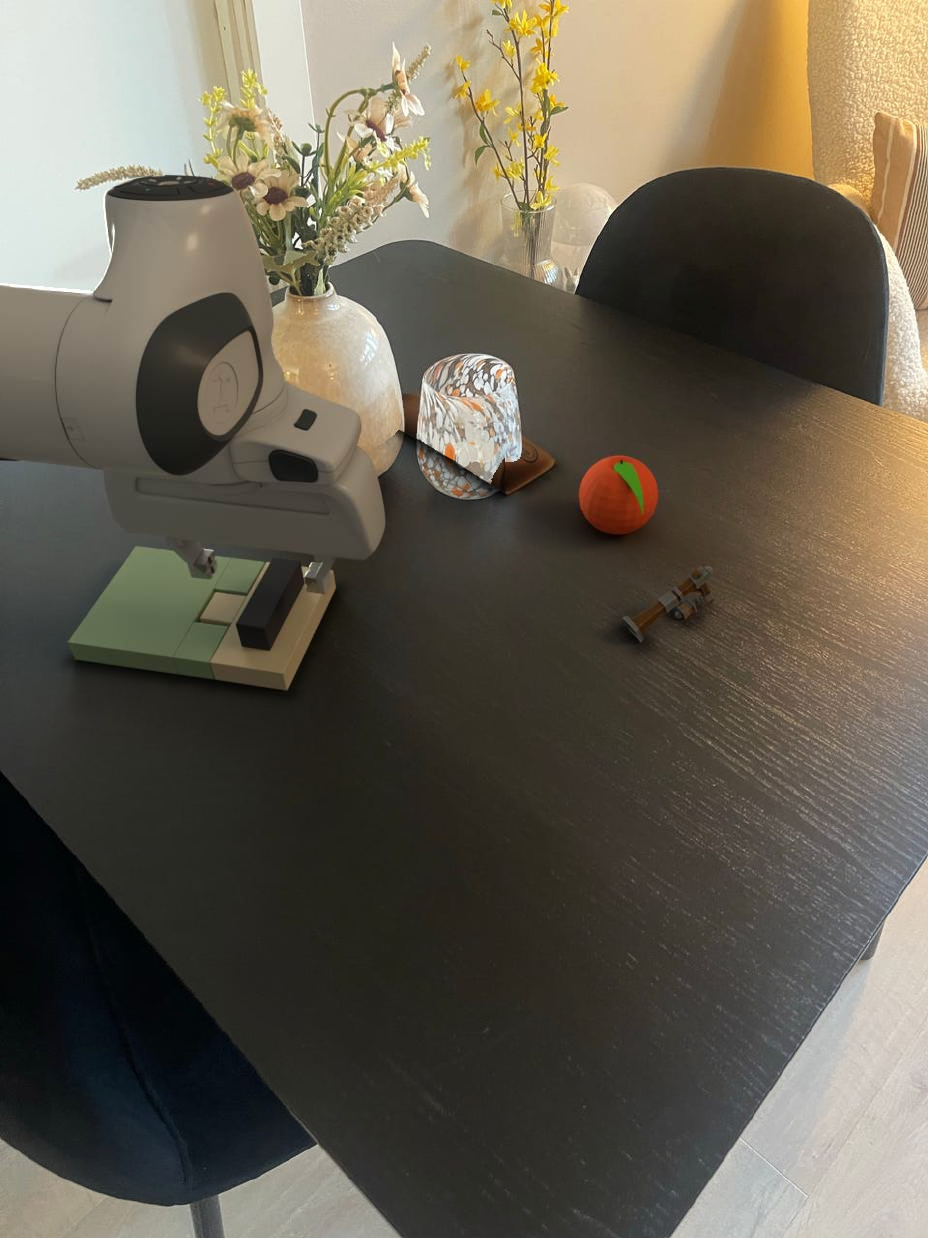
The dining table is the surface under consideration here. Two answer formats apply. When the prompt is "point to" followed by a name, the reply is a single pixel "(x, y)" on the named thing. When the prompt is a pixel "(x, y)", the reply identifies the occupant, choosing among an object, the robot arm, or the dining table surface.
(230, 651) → the cream pad
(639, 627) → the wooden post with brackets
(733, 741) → the dining table surface
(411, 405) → the dark brown wedge
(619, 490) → the clementine
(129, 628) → the green pad
